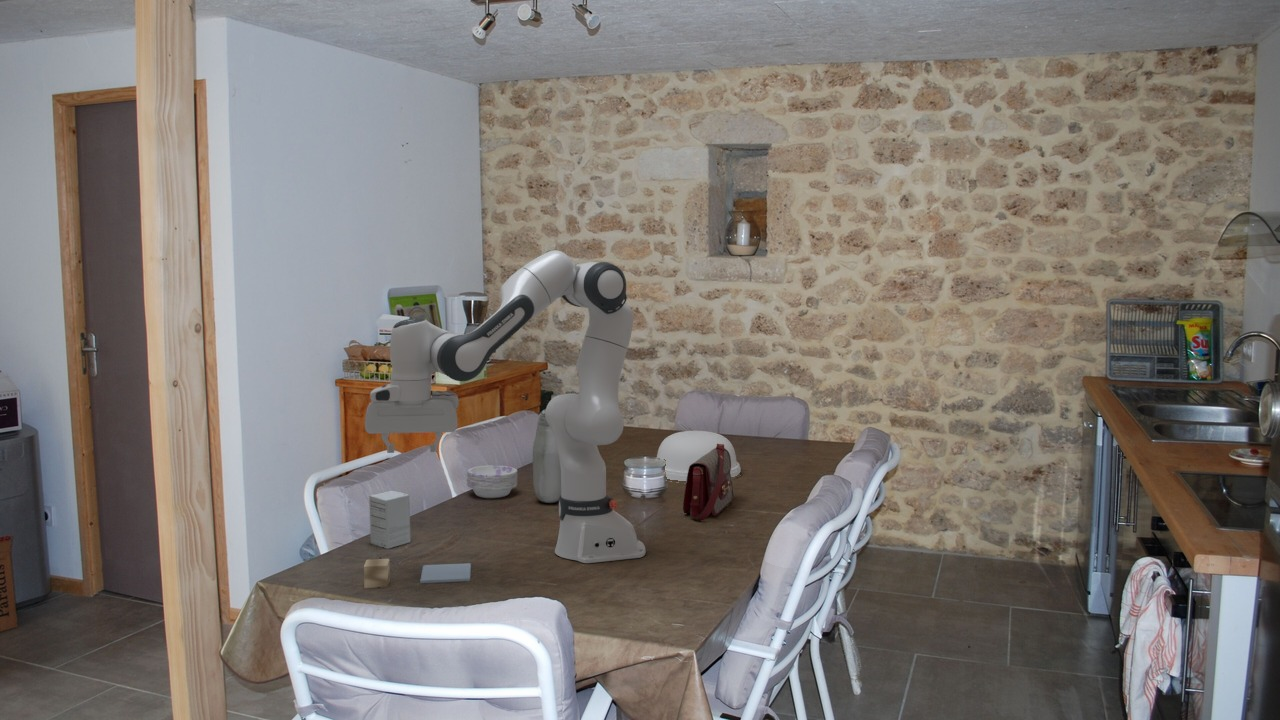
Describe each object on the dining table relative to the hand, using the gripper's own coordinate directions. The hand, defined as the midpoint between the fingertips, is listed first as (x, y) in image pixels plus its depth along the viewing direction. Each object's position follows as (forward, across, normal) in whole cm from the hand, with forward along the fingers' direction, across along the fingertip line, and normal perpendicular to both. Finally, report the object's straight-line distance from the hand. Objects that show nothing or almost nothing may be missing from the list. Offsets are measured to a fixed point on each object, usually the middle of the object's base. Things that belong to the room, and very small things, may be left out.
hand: (412, 452), depth 222 cm
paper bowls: (+30, -18, -75) cm, 82 cm away
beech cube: (+29, +8, +3) cm, 31 cm away
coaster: (+29, -7, -1) cm, 30 cm away
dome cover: (+30, -86, -96) cm, 132 cm away
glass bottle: (+29, -35, -64) cm, 79 cm away
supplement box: (+29, +8, -28) cm, 41 cm away
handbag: (+30, -80, -49) cm, 98 cm away
